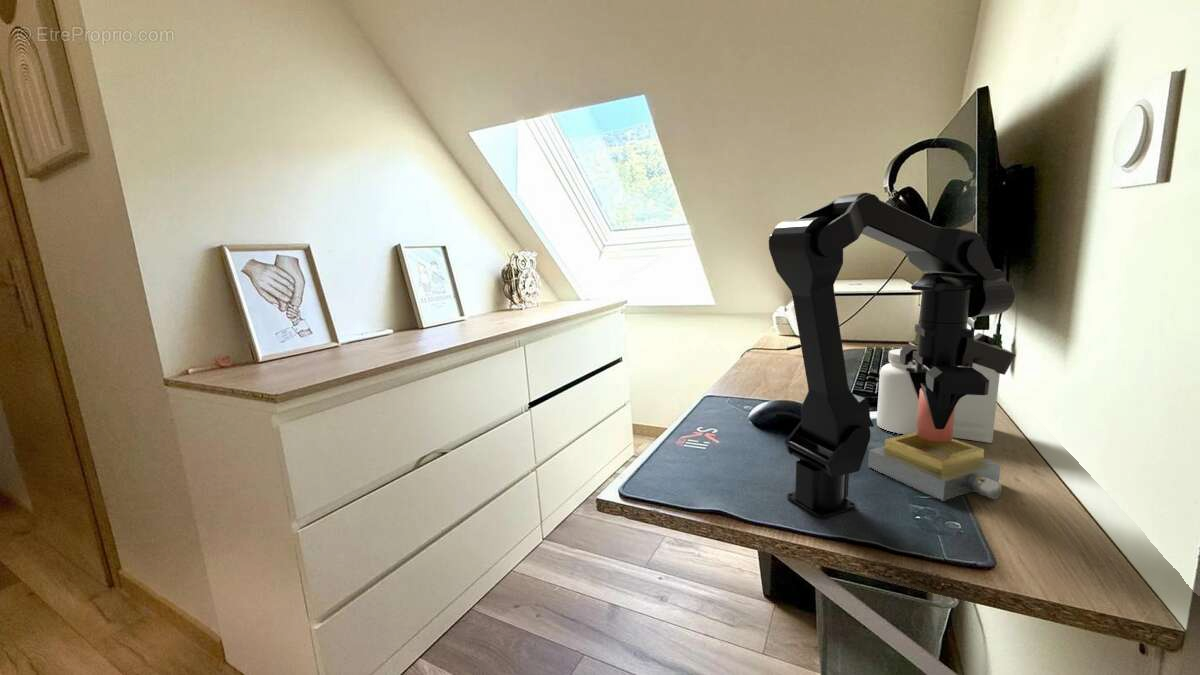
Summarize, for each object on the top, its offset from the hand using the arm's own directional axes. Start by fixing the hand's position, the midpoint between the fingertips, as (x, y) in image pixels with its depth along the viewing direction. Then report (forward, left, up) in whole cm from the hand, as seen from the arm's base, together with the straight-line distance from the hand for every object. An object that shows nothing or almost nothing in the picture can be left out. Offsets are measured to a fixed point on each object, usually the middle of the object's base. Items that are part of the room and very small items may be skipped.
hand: (934, 423), depth 75 cm
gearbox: (0, -2, -8) cm, 9 cm away
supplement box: (+21, +9, -9) cm, 25 cm away
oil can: (0, 0, -2) cm, 2 cm away
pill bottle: (+13, +15, -9) cm, 22 cm away
